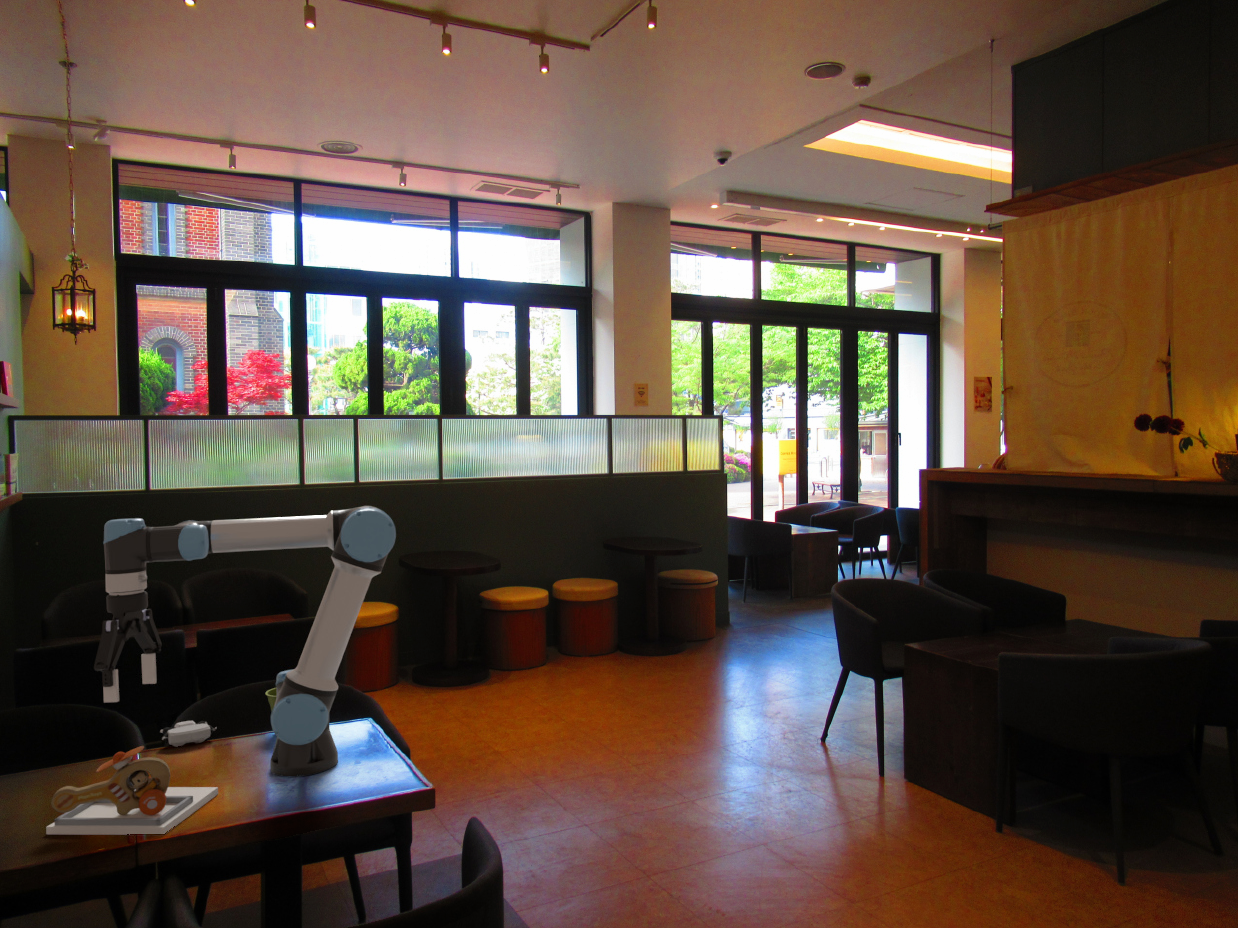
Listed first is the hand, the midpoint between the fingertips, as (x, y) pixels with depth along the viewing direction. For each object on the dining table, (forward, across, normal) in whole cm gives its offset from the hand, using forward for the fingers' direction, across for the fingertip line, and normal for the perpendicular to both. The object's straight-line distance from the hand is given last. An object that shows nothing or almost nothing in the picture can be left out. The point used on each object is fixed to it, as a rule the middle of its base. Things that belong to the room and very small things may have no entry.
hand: (131, 692), depth 178 cm
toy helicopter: (+23, -7, -1) cm, 24 cm away
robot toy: (+25, +43, +12) cm, 52 cm away
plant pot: (+25, +49, -13) cm, 57 cm away
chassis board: (+25, -2, -2) cm, 25 cm away
